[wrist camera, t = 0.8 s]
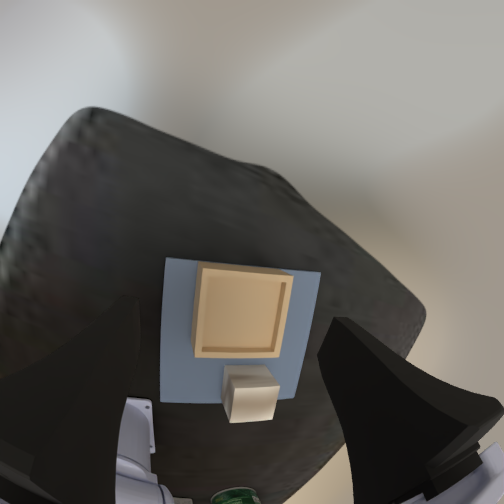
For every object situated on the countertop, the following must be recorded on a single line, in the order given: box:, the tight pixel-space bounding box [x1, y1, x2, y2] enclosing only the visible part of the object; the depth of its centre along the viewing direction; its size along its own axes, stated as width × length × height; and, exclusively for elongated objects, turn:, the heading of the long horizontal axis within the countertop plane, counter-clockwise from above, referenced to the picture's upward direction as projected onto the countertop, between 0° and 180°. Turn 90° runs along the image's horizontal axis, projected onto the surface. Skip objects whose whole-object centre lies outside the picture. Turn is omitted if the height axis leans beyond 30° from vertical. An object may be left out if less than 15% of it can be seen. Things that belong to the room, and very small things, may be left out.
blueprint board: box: [160, 257, 321, 403], centre depth 26 cm, size 16×16×4 cm
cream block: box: [221, 365, 280, 423], centre depth 26 cm, size 4×4×4 cm
